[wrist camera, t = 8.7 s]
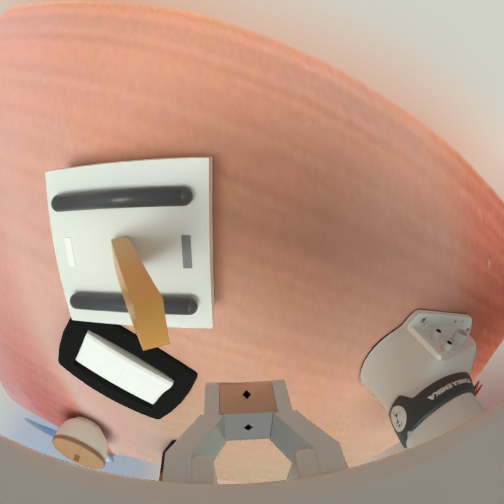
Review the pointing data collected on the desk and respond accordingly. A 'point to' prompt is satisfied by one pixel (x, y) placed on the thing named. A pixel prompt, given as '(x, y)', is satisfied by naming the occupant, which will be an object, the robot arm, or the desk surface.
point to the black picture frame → (124, 367)
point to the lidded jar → (82, 442)
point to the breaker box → (135, 235)
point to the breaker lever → (140, 295)
